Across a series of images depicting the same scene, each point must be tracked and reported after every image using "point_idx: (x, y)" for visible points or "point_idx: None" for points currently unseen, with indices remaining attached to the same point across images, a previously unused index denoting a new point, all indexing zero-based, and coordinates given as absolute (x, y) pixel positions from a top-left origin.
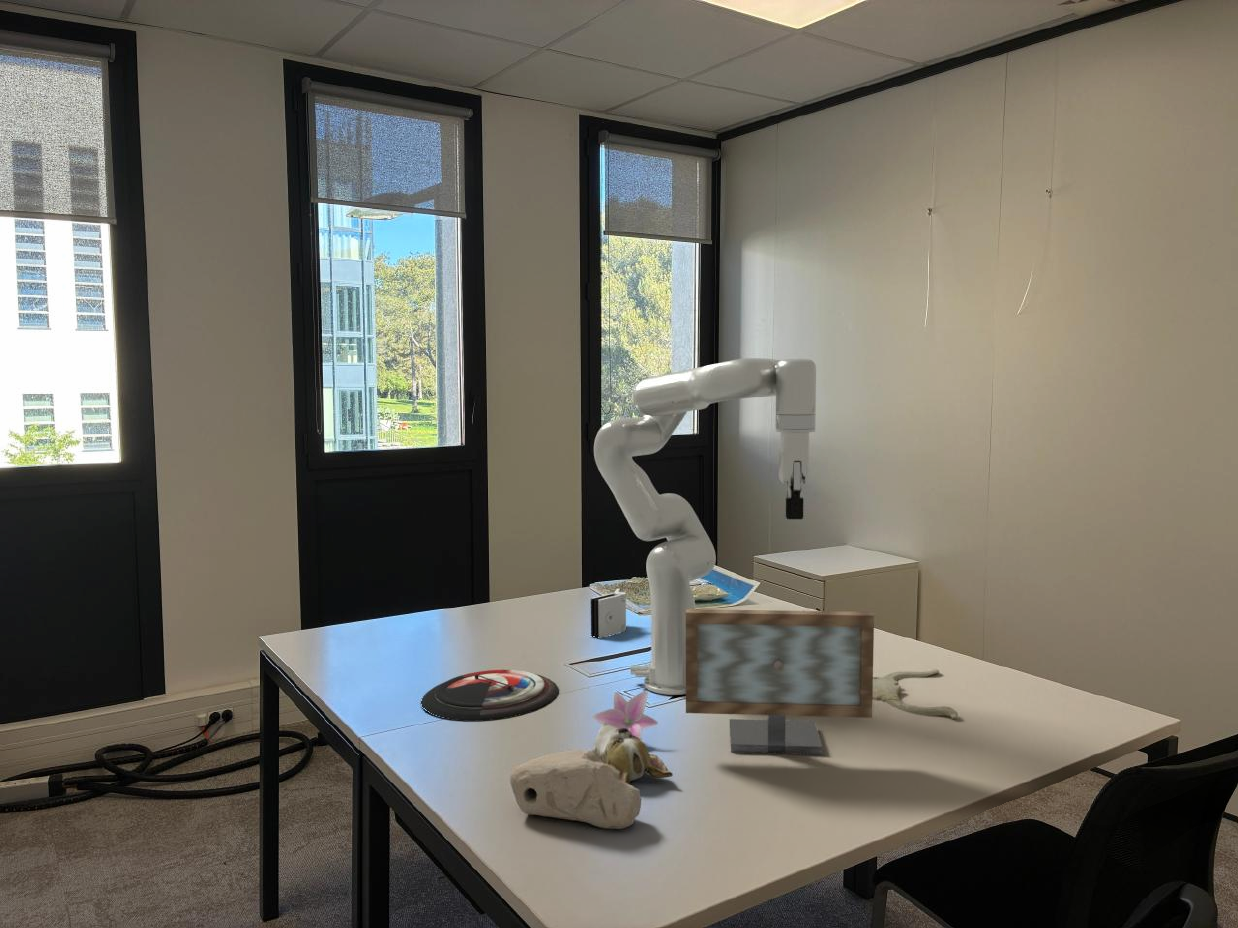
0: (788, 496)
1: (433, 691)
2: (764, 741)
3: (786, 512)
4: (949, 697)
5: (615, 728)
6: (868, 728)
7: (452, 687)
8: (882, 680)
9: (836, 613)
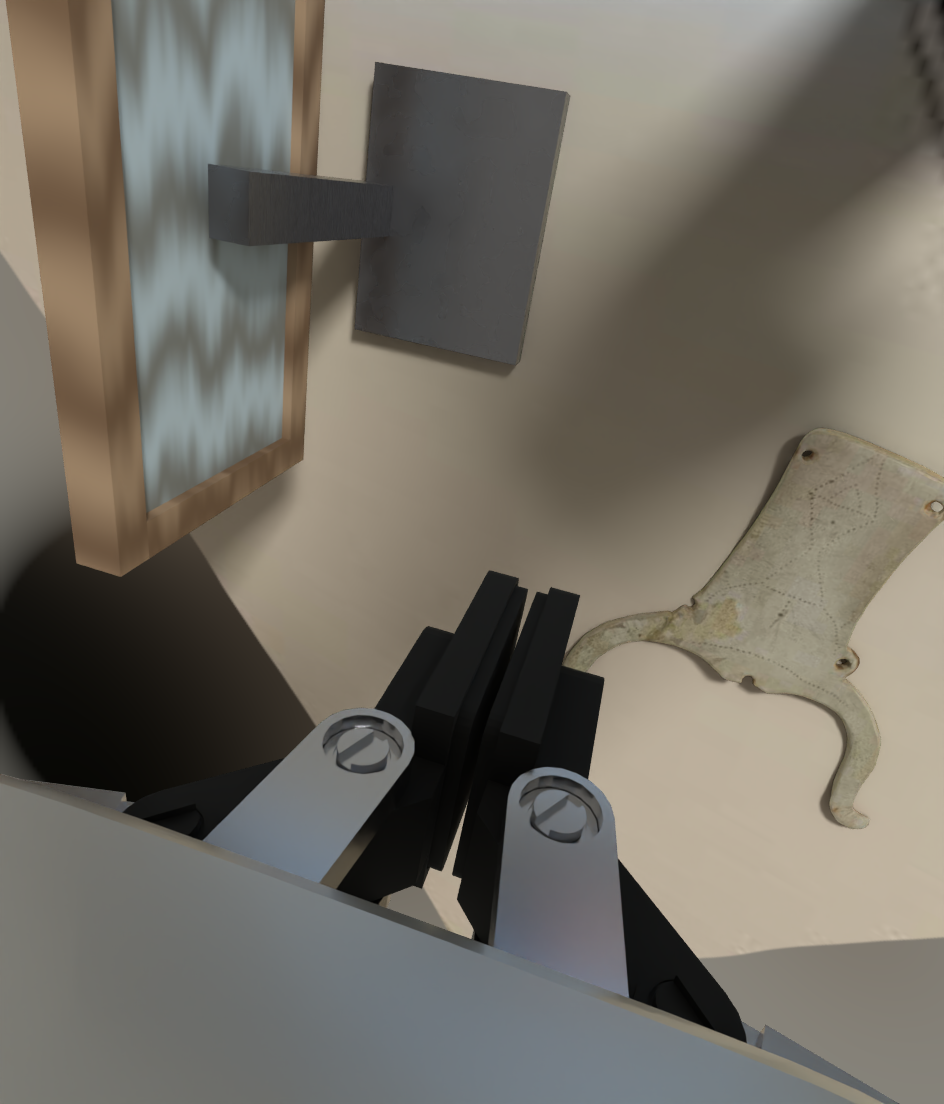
0: (320, 727)
1: None
2: (390, 176)
3: (473, 599)
4: (670, 751)
5: None
6: (508, 495)
7: None
8: (809, 668)
9: (79, 444)
